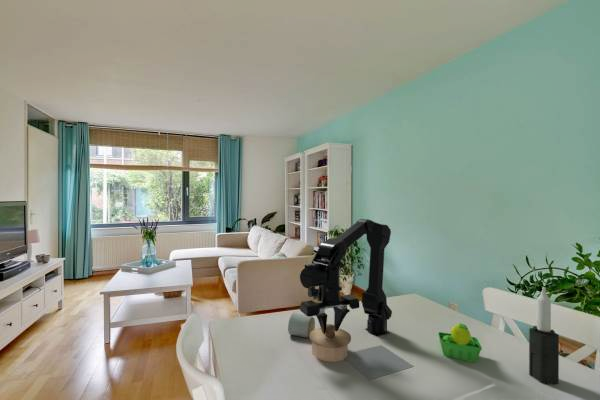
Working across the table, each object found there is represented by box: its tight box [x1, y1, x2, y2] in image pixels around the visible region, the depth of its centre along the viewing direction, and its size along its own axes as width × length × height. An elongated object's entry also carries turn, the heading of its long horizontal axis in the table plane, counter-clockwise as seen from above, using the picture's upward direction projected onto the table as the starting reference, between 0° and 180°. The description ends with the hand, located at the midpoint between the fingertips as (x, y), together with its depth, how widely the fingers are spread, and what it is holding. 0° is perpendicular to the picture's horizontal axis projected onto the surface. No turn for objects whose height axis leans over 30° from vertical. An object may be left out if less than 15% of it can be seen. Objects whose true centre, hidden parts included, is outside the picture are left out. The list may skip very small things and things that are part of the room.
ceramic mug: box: [287, 311, 316, 339], centre depth 108 cm, size 11×8×8 cm
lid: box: [308, 323, 352, 348], centre depth 93 cm, size 13×13×4 cm
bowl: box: [311, 341, 349, 363], centre depth 93 cm, size 11×11×5 cm
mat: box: [344, 344, 415, 381], centre depth 89 cm, size 16×14×1 cm
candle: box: [528, 286, 560, 385], centre depth 81 cm, size 5×5×25 cm
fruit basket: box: [437, 322, 483, 363], centre depth 93 cm, size 11×9×11 cm
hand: (329, 332), depth 93 cm, fingers open, 4 cm apart
